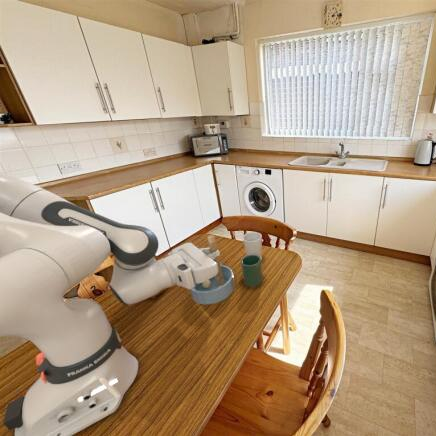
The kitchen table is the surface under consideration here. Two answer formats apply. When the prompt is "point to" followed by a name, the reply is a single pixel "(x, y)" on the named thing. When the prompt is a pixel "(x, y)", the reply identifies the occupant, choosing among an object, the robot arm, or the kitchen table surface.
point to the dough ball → (206, 284)
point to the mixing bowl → (214, 289)
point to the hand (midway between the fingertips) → (216, 250)
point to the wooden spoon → (216, 259)
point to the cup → (253, 244)
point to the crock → (252, 270)
